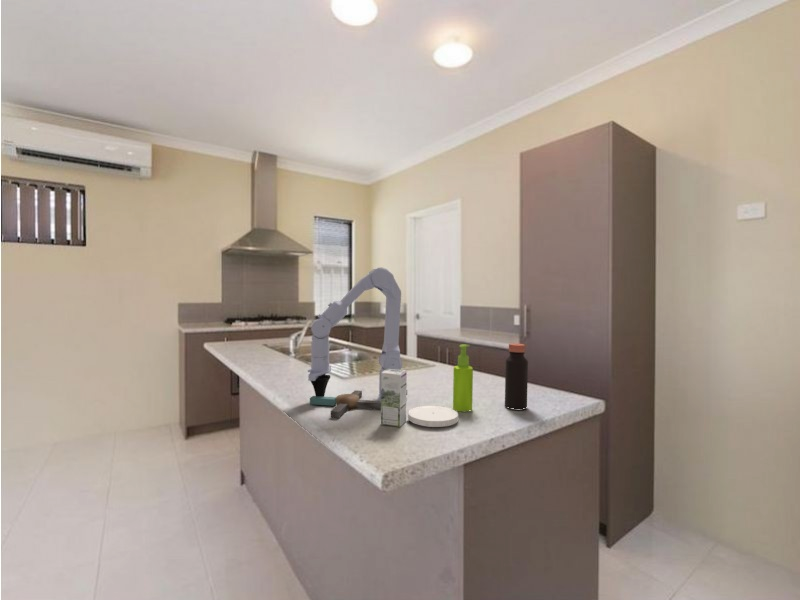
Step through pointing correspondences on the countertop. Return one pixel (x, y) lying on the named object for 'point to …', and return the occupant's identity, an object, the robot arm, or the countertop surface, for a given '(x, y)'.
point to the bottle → (516, 377)
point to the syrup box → (393, 397)
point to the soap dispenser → (463, 382)
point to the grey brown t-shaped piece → (352, 404)
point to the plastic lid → (433, 416)
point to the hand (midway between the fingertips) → (320, 398)
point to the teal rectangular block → (323, 400)
